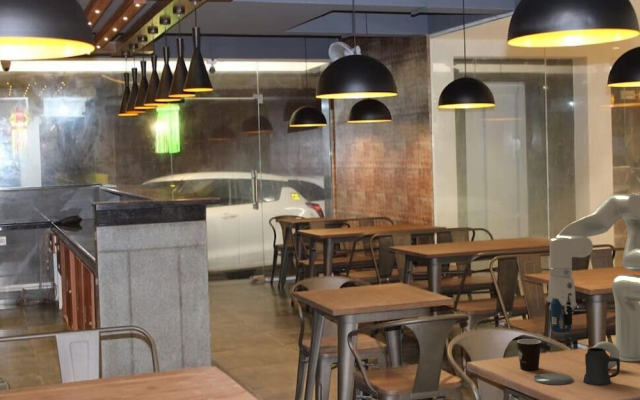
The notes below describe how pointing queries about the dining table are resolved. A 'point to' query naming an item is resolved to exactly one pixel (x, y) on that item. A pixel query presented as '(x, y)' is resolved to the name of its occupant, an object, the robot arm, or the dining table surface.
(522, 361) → the coffee mug
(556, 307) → the soda can
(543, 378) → the slate coaster
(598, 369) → the mug
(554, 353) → the dining table surface
